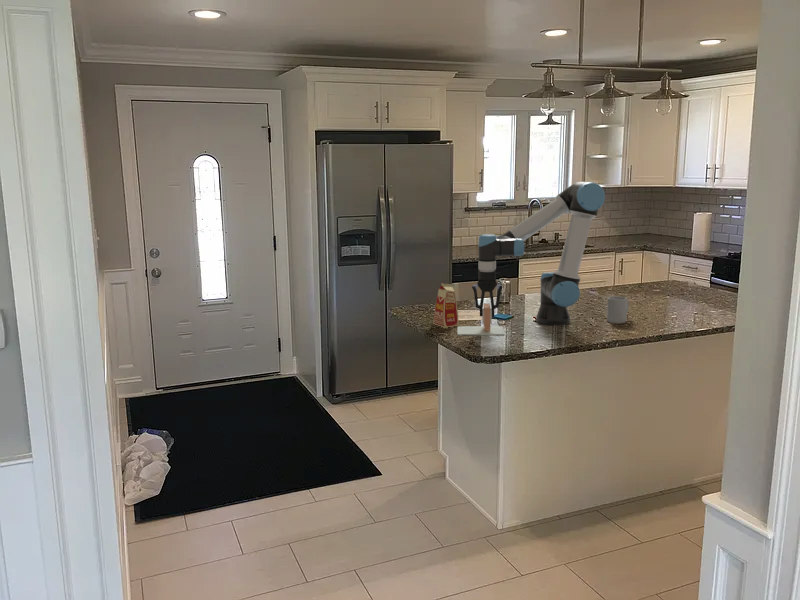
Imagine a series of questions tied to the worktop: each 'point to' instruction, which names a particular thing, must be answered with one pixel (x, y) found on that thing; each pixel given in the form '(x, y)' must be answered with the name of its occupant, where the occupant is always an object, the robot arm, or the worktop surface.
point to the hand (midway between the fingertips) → (486, 323)
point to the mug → (617, 309)
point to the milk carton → (446, 307)
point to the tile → (486, 317)
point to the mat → (479, 330)
